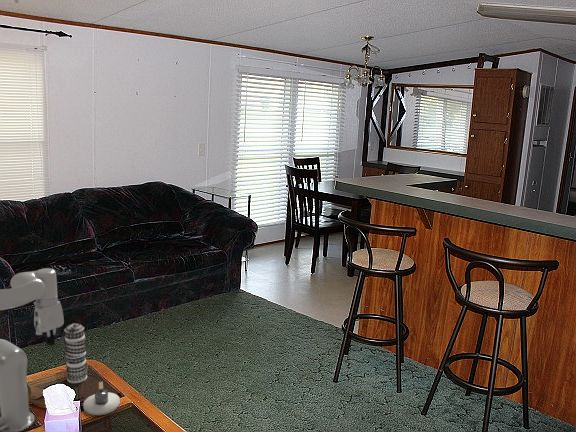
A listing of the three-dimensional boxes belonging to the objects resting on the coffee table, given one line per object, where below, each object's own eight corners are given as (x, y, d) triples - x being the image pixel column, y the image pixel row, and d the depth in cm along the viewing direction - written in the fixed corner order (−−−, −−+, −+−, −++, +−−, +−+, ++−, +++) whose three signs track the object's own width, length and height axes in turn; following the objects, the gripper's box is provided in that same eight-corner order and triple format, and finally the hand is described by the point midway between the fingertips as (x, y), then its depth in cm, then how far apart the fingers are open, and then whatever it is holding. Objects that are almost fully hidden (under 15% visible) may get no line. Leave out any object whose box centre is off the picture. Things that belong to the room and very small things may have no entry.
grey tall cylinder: (70, 386, 235) (67, 332, 229) (62, 377, 242) (59, 324, 236) (91, 379, 241) (89, 326, 235) (83, 370, 248) (80, 319, 242)
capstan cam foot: (108, 403, 221) (107, 393, 220) (95, 405, 219) (94, 395, 218) (107, 391, 229) (107, 380, 228) (95, 393, 228) (94, 382, 227)
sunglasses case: (12, 400, 223) (18, 384, 225) (24, 400, 229) (29, 384, 231) (48, 410, 217) (53, 393, 219) (59, 410, 224) (64, 393, 226)
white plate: (121, 411, 219) (121, 407, 219) (84, 418, 214) (84, 414, 213) (118, 392, 231) (117, 389, 231) (82, 399, 226) (82, 395, 226)
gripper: (35, 309, 202) (38, 354, 206) (70, 297, 214) (72, 340, 219) (23, 304, 206) (26, 348, 210) (58, 292, 218) (61, 334, 222)
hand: (50, 344), depth 214 cm, fingers closed
